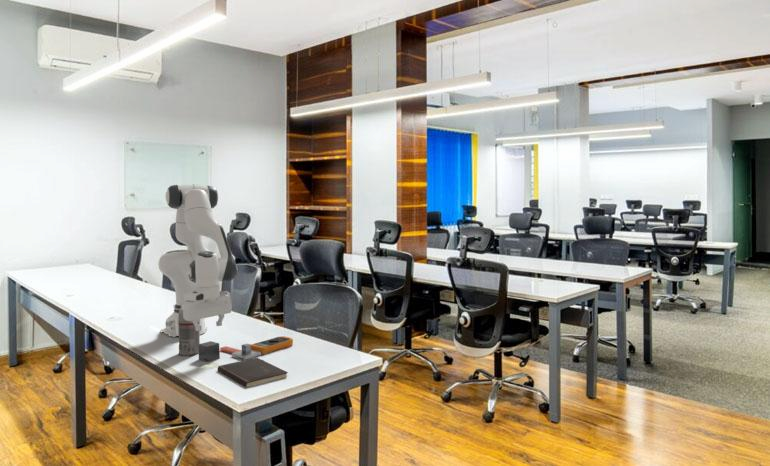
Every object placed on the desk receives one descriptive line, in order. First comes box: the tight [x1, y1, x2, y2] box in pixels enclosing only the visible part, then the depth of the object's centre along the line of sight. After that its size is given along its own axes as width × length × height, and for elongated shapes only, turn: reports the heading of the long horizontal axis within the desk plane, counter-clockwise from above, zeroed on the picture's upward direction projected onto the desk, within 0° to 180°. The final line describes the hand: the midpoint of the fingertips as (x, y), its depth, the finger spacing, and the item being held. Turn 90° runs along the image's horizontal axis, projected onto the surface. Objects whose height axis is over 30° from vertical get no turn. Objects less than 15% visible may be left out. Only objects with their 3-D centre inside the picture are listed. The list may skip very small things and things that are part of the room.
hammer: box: [219, 343, 262, 361], centre depth 213 cm, size 19×8×5 cm, turn 54°
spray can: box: [178, 305, 201, 357], centre depth 213 cm, size 8×8×20 cm
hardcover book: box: [217, 357, 289, 388], centre depth 188 cm, size 16×23×2 cm
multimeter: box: [251, 335, 294, 355], centre depth 221 cm, size 9×18×3 cm, turn 144°
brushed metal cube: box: [198, 340, 221, 363], centre depth 206 cm, size 6×6×6 cm
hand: (209, 328), depth 205 cm, fingers open, 8 cm apart
